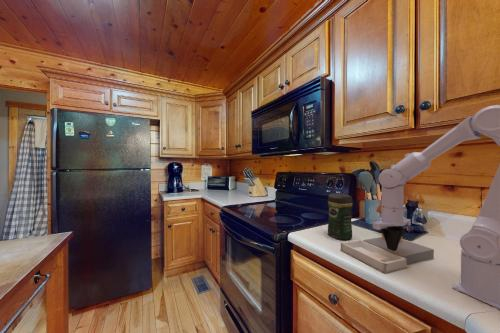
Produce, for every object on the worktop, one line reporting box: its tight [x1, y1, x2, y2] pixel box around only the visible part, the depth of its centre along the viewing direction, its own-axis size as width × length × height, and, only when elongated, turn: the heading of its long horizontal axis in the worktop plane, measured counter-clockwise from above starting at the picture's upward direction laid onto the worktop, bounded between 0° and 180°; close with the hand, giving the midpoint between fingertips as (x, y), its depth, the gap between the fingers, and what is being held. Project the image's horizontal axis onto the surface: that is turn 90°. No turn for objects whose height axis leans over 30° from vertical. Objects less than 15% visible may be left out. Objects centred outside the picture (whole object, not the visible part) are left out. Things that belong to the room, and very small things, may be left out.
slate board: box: [362, 236, 435, 266], centre depth 70 cm, size 14×15×3 cm
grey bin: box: [340, 239, 408, 275], centre depth 66 cm, size 16×9×3 cm, turn 20°
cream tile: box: [367, 252, 390, 262], centre depth 62 cm, size 4×4×2 cm
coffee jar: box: [327, 192, 353, 241], centre depth 86 cm, size 10×8×19 cm
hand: (391, 249), depth 64 cm, fingers closed
